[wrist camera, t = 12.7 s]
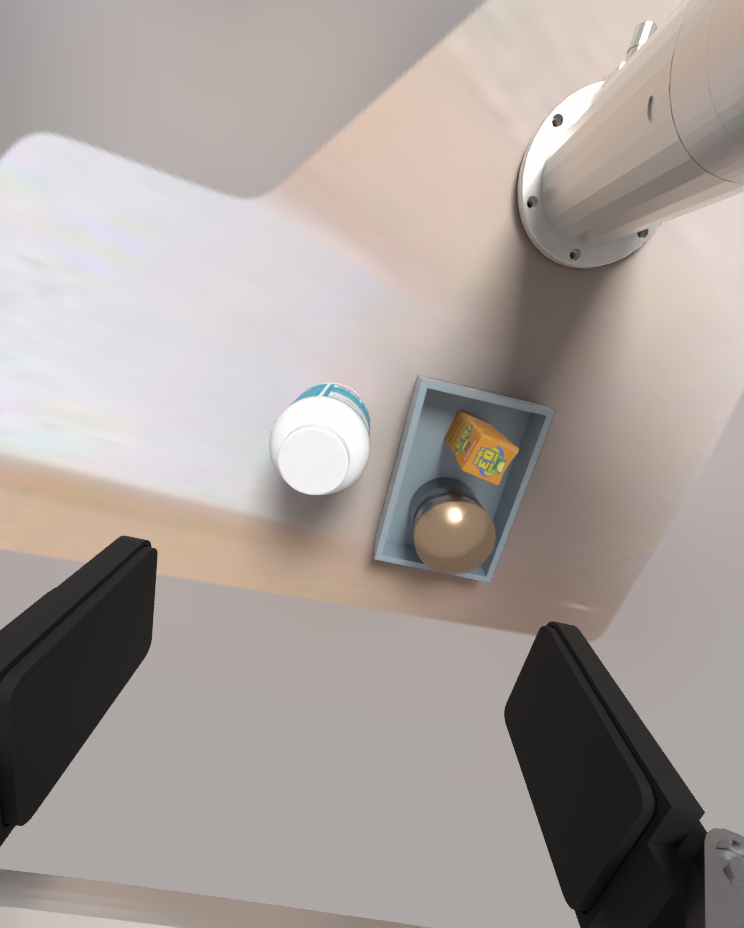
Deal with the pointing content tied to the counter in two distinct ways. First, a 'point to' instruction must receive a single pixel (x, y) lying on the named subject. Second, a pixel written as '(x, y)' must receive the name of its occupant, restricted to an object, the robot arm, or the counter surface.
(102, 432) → the counter surface
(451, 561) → the tin
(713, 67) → the robot arm
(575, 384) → the counter surface
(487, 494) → the tote
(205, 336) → the counter surface
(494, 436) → the supplement box
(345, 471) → the pill bottle
